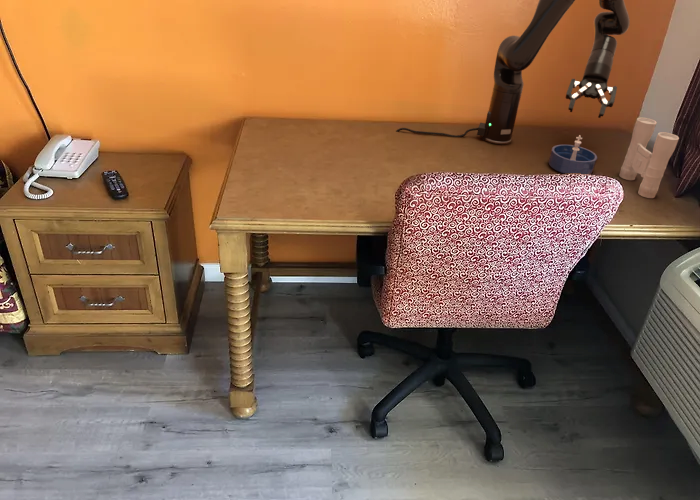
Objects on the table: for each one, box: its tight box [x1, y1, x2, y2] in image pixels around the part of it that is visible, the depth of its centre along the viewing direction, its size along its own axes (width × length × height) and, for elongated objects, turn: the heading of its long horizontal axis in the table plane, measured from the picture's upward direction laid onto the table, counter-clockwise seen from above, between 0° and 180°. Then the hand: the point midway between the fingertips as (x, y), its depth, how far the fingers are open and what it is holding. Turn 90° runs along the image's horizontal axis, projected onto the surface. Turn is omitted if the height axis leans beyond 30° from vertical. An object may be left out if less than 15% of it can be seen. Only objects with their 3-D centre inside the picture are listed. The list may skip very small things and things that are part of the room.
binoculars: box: [618, 116, 680, 199], centre depth 175 cm, size 17×5×18 cm, turn 5°
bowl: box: [548, 144, 598, 175], centre depth 186 cm, size 13×13×5 cm
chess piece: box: [570, 134, 583, 160], centre depth 184 cm, size 5×5×10 cm
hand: (585, 113), depth 186 cm, fingers open, 8 cm apart
